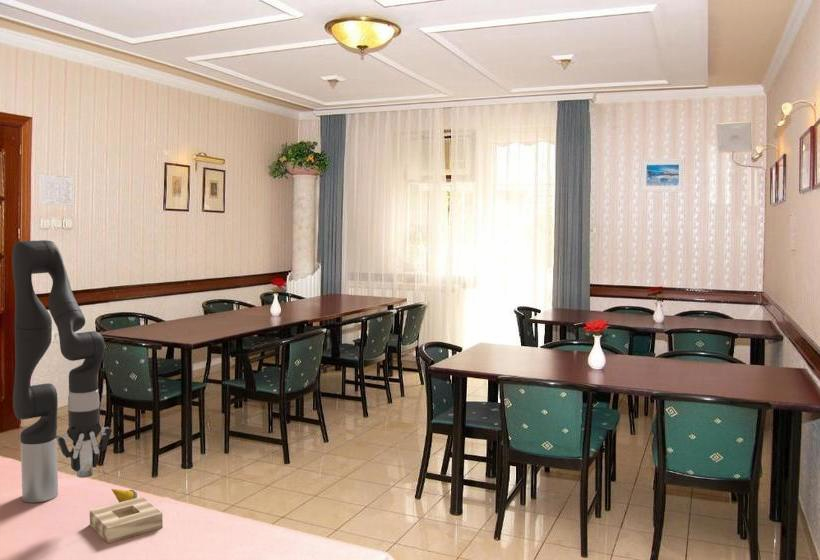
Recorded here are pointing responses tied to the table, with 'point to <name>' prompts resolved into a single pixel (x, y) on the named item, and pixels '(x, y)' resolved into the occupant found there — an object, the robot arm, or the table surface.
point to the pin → (85, 459)
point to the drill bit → (124, 495)
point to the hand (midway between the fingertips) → (85, 468)
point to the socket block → (125, 519)
